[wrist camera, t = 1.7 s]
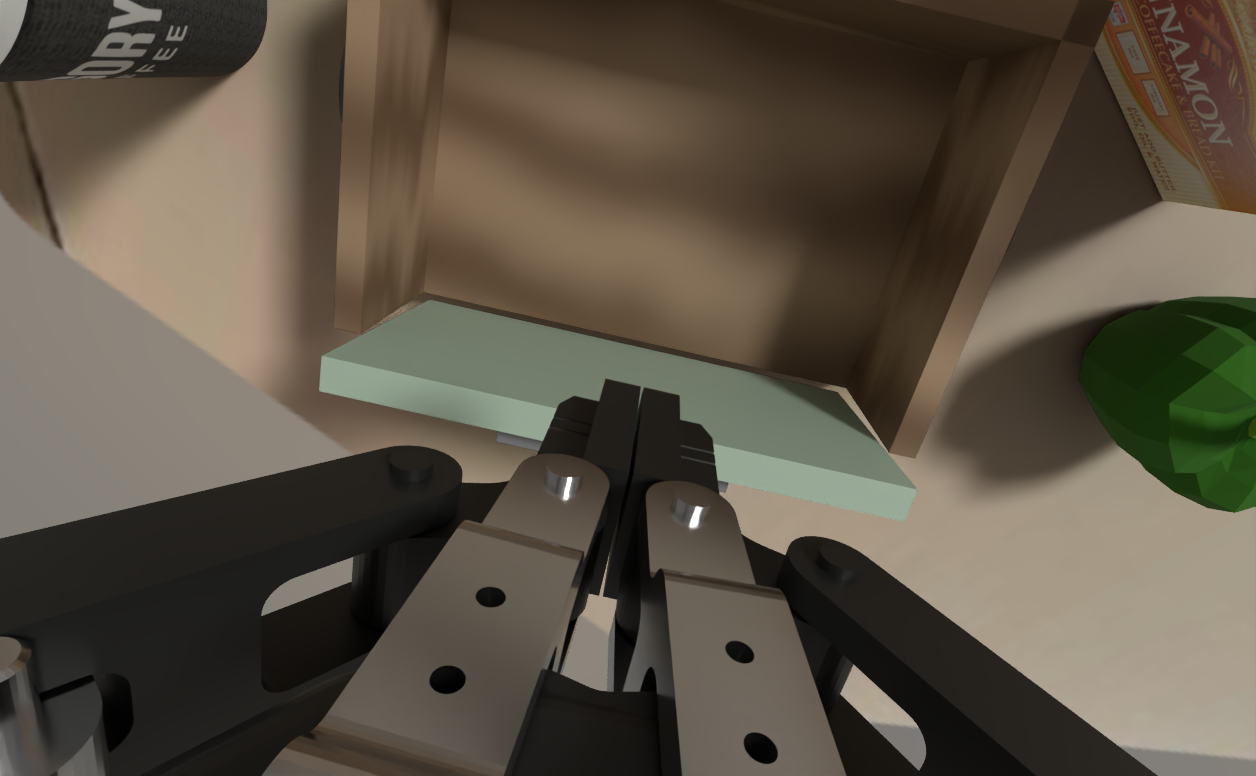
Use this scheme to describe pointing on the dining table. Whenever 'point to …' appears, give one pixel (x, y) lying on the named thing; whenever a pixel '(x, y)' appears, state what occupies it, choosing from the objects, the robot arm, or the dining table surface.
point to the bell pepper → (1182, 395)
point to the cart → (708, 172)
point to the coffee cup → (127, 38)
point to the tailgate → (577, 366)
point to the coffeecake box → (1188, 94)
